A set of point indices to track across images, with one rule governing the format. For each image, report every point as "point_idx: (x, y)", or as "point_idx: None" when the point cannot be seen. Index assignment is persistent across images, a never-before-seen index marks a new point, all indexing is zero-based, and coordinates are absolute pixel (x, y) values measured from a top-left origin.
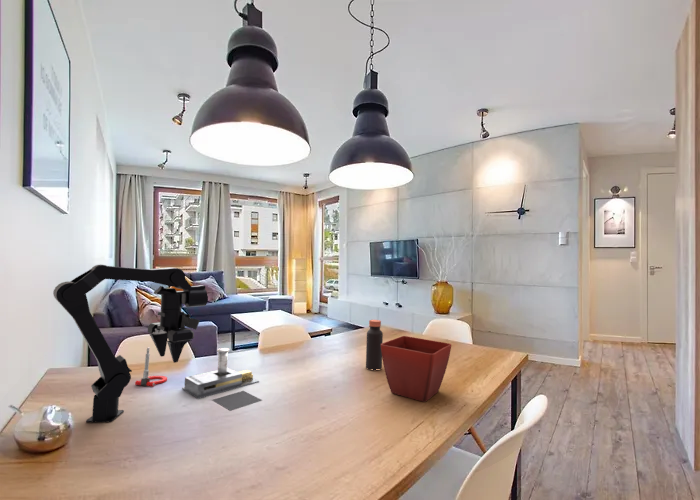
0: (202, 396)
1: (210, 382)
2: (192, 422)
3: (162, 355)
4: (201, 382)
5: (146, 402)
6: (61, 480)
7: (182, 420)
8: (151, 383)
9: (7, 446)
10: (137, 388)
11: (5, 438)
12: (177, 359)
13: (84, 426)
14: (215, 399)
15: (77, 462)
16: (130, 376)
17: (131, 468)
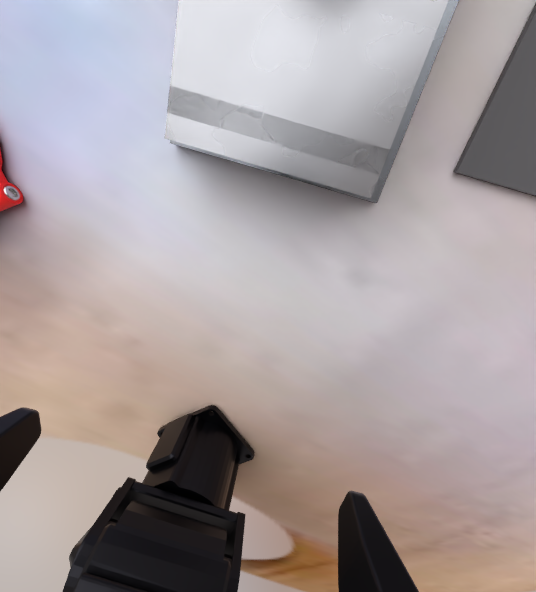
0: (385, 179)
1: (410, 93)
2: (510, 366)
3: (31, 430)
4: (359, 150)
5: (192, 325)
6: None
7: (458, 369)
8: (5, 204)
9: None
10: (5, 248)
11: None
12: (376, 533)
13: None
14: (475, 156)
15: None
16: (226, 581)
17: (514, 546)
